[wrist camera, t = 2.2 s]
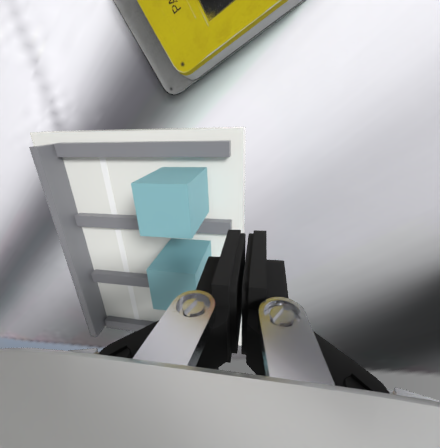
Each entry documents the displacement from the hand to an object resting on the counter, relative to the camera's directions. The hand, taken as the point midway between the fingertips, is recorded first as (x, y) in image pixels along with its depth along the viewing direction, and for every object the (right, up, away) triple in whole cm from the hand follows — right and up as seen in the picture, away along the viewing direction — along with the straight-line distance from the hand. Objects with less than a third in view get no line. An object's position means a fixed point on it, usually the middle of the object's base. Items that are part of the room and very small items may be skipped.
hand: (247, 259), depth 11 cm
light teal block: (-4, -2, +14) cm, 15 cm away
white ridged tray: (-8, 0, +17) cm, 19 cm away
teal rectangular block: (-4, +5, +11) cm, 13 cm away
